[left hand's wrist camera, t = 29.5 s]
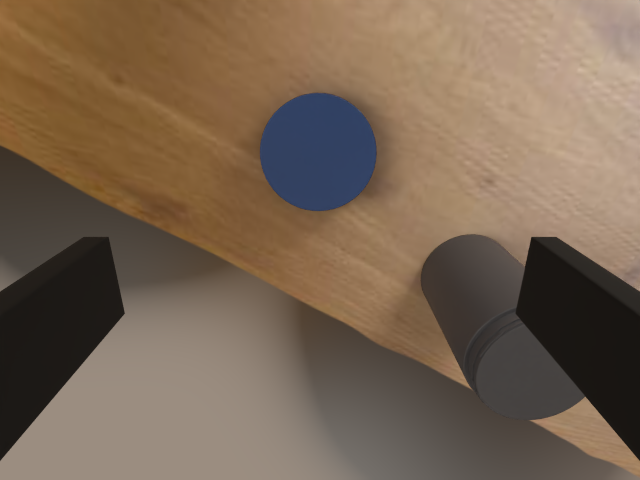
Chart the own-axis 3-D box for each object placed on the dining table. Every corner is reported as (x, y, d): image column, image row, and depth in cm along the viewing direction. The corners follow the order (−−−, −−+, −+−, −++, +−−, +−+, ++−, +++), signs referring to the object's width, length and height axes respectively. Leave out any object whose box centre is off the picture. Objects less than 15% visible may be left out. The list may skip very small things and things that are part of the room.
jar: (528, 255, 40) (636, 345, 26) (478, 325, 43) (552, 439, 29) (450, 219, 39) (522, 295, 25) (404, 295, 42) (446, 399, 28)
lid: (382, 99, 35) (385, 100, 33) (364, 210, 38) (366, 216, 37) (266, 86, 34) (263, 86, 32) (259, 199, 38) (257, 204, 36)
